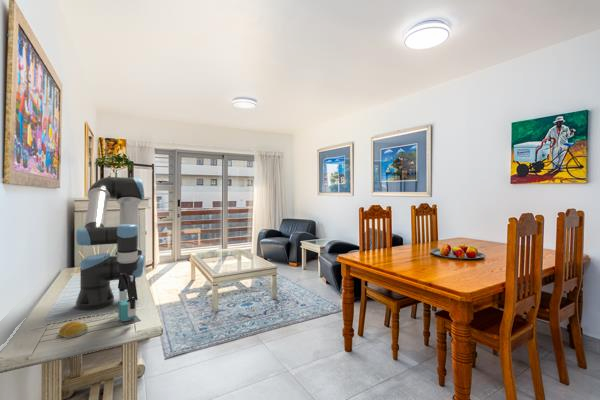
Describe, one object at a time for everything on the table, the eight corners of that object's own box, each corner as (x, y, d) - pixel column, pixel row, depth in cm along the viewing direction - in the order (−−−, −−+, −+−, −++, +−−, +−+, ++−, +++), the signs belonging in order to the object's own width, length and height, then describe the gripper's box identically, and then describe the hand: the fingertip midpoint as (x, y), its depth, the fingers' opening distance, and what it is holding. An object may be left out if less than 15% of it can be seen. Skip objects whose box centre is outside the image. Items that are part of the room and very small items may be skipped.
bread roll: (70, 340, 109) (70, 329, 109) (55, 335, 112) (55, 325, 112) (93, 330, 116) (93, 320, 116) (78, 326, 120) (78, 316, 120)
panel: (118, 319, 126) (118, 319, 126) (135, 315, 131) (135, 314, 131) (123, 325, 121) (123, 324, 121) (140, 320, 126) (140, 320, 126)
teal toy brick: (118, 317, 126) (118, 302, 126) (132, 314, 130) (132, 299, 130) (121, 321, 122) (121, 305, 122) (135, 317, 126) (135, 302, 126)
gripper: (110, 256, 132) (110, 303, 133) (125, 269, 114) (125, 323, 115) (129, 254, 137) (129, 299, 138) (146, 266, 119) (146, 318, 120)
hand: (127, 310), depth 127 cm, fingers open, 13 cm apart
